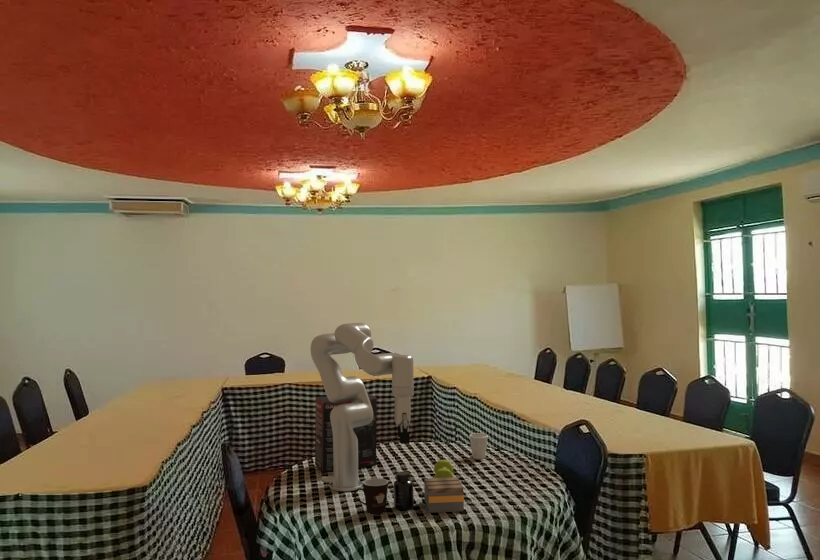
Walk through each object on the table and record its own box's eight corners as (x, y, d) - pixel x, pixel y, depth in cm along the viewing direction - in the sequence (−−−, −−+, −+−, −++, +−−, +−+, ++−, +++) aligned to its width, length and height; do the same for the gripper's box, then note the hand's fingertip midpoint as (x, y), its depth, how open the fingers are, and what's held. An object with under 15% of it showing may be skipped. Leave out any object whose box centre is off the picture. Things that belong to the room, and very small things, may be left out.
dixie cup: (491, 456, 286) (491, 434, 286) (483, 461, 279) (483, 438, 279) (474, 454, 290) (474, 432, 290) (466, 458, 283) (466, 435, 283)
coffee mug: (388, 506, 222) (388, 478, 222) (388, 515, 213) (388, 485, 214) (355, 507, 222) (355, 478, 222) (353, 516, 213) (353, 486, 213)
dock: (429, 513, 215) (428, 494, 215) (424, 500, 228) (424, 482, 228) (464, 511, 216) (463, 492, 216) (457, 499, 229) (457, 481, 229)
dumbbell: (454, 489, 240) (454, 470, 240) (433, 489, 241) (432, 470, 241) (453, 476, 257) (453, 458, 257) (434, 476, 257) (433, 458, 257)
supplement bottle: (402, 503, 226) (402, 469, 226) (417, 507, 221) (417, 472, 222) (389, 508, 220) (389, 473, 221) (404, 512, 216) (404, 477, 216)
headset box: (367, 458, 285) (366, 384, 285) (378, 465, 273) (377, 388, 273) (314, 465, 274) (313, 389, 275) (323, 473, 263) (322, 393, 263)
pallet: (428, 493, 216) (428, 488, 216) (424, 482, 228) (424, 478, 228) (463, 491, 217) (463, 487, 217) (457, 481, 229) (457, 477, 229)
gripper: (390, 387, 230) (390, 434, 230) (394, 395, 213) (394, 446, 212) (410, 386, 231) (411, 434, 230) (416, 394, 213) (417, 445, 213)
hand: (403, 440), depth 221 cm, fingers open, 9 cm apart
